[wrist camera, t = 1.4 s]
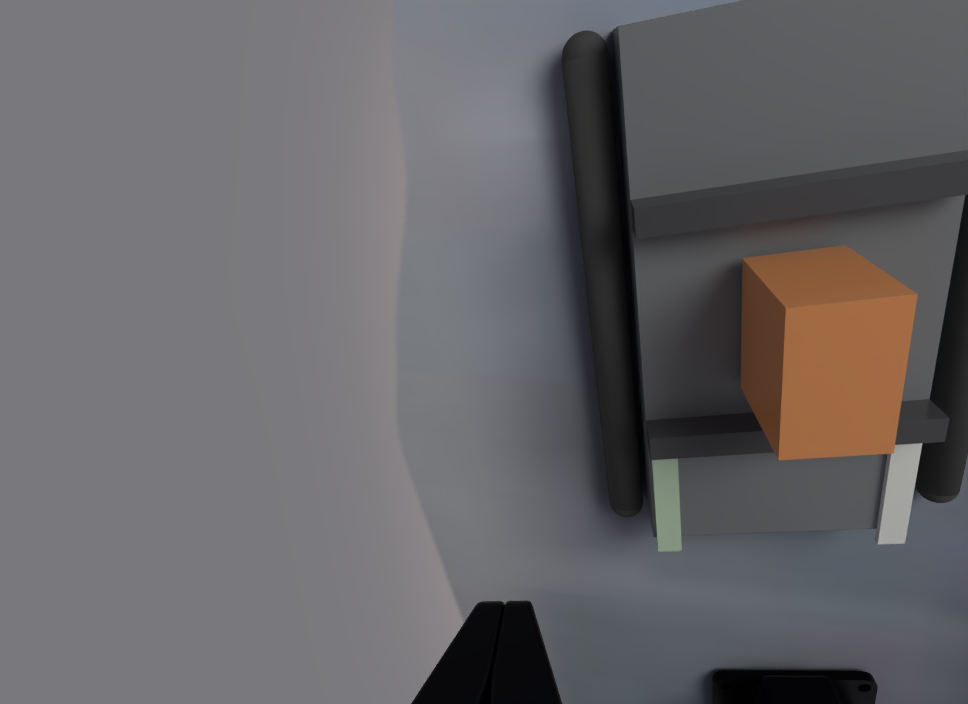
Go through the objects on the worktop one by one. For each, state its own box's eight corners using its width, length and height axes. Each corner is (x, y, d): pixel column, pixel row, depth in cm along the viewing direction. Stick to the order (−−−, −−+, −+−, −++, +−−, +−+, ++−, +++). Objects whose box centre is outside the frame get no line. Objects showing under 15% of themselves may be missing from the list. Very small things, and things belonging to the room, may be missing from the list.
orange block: (833, 379, 17) (893, 453, 14) (740, 387, 17) (778, 460, 14) (845, 244, 15) (917, 294, 12) (742, 258, 15) (786, 308, 12)
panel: (876, 498, 21) (921, 562, 18) (647, 508, 22) (658, 569, 20) (952, -41, 14) (1043, -64, 11) (612, 29, 15) (621, 23, 13)
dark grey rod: (641, 501, 22) (645, 523, 21) (610, 502, 23) (612, 524, 21) (604, 27, 15) (607, 25, 14) (559, 36, 16) (558, 35, 15)
